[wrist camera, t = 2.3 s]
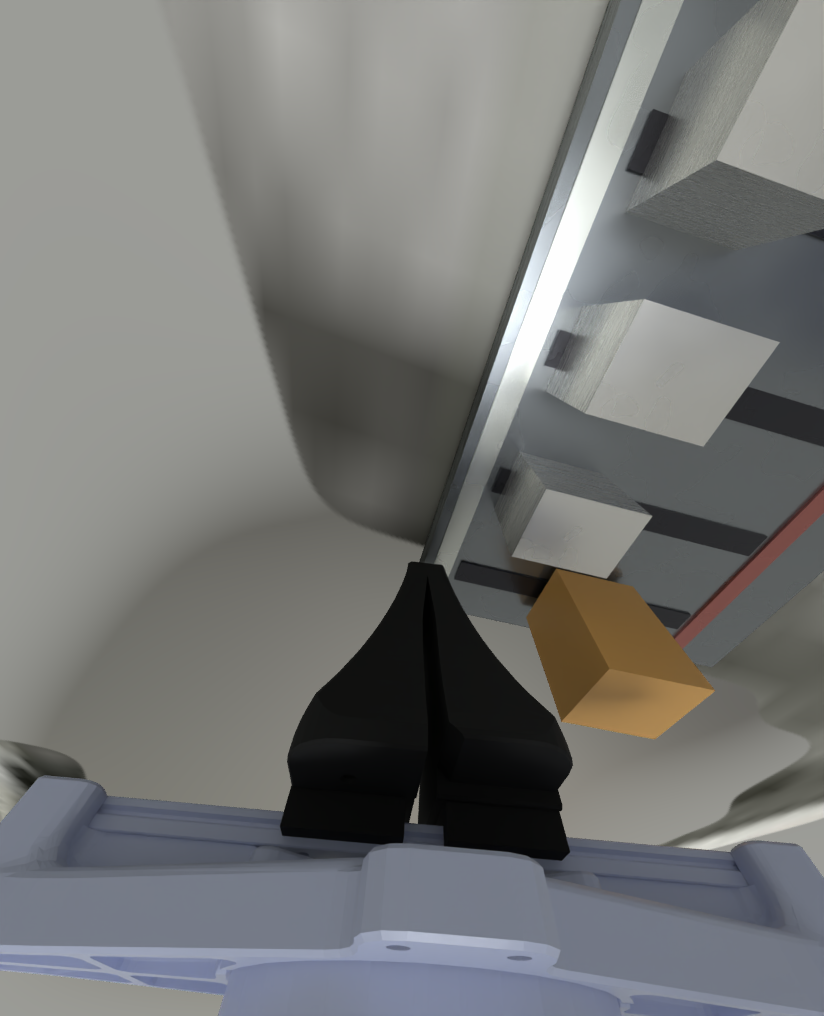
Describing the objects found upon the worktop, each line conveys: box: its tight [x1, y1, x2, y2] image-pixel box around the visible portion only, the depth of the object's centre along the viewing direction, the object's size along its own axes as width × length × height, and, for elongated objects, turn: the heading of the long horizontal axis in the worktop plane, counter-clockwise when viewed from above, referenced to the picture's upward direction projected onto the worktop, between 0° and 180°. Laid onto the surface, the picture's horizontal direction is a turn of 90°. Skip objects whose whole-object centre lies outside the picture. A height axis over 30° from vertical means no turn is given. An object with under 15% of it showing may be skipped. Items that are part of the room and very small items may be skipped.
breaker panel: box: [420, 0, 824, 667], centre depth 11 cm, size 16×18×4 cm
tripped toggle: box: [526, 569, 715, 739], centre depth 12 cm, size 4×3×4 cm
